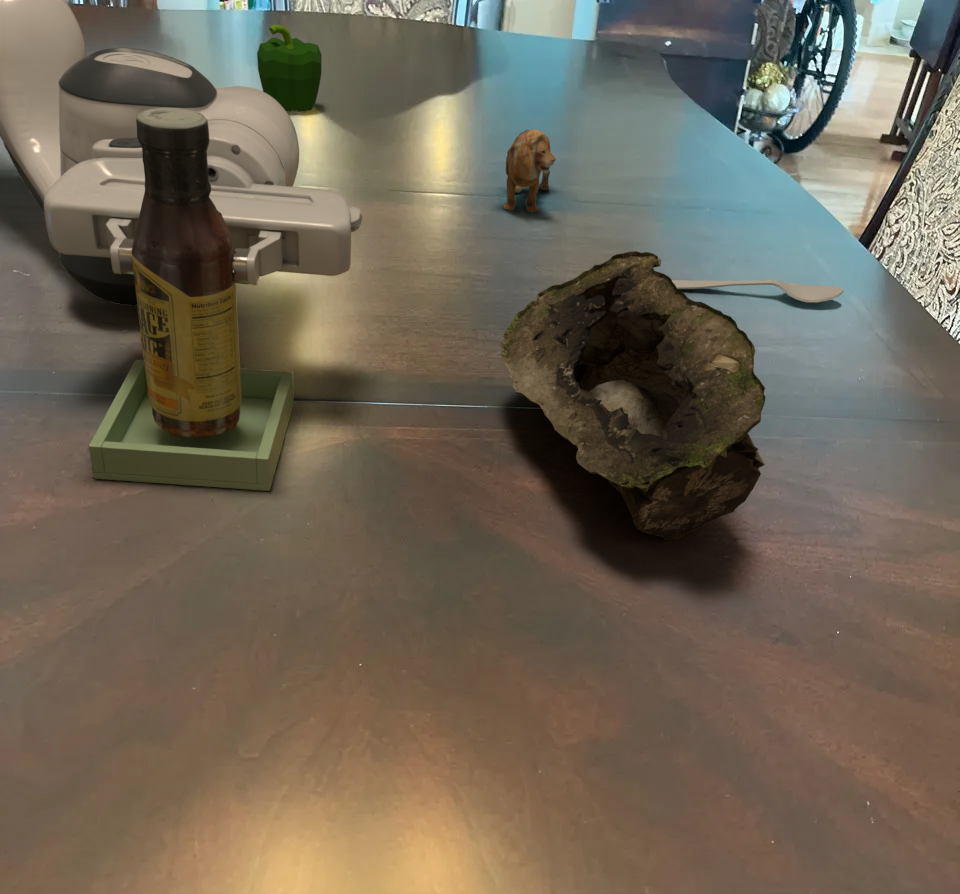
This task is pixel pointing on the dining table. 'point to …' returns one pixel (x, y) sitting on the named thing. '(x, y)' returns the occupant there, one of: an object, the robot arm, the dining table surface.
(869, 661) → the dining table surface
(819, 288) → the spoon
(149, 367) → the sauce bottle
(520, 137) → the lion figurine
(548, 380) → the brown hollow wooden log
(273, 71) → the bell pepper
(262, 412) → the green tray
